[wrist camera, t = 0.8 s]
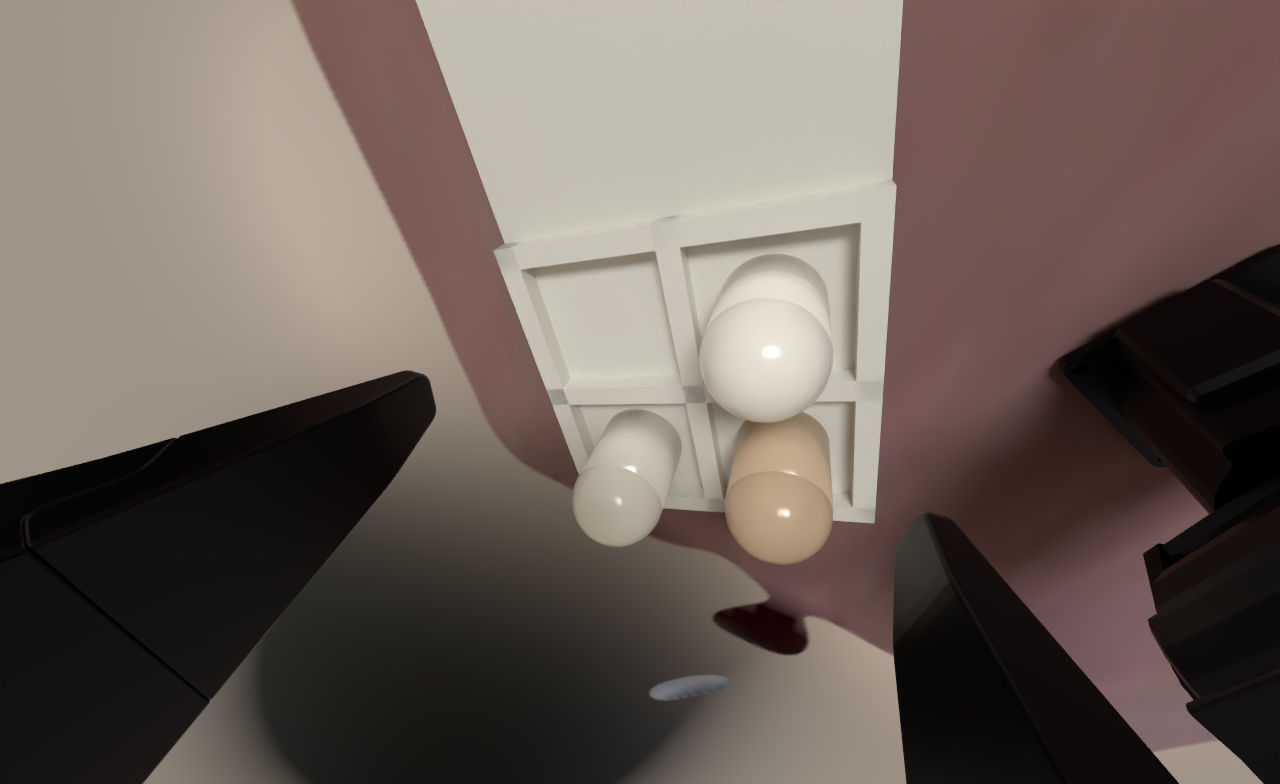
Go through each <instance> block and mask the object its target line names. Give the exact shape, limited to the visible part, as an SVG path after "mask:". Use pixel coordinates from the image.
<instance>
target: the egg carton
mask: <svg viewBox="0 0 1280 784" xmlns="http://www.w3.org/2000/svg"><path fill="white" fill-rule="evenodd" d="M416 2H417V5H418V8H419V11H420V13H421V16H422V19H423V21H424V24H425V27H426V30H427V32H428V35H429V38H430V41H431V43H432V46H433V49H434V52H435V54H436V57H437V60H438V62H439V65H440V68H441V71H442V73H443V76H444V79H445V82H446V84H447V87H448V90H449V92H450V95H451V98H452V101H453V103H454V106H455V109H456V112H457V114H458V117H459V120H460V122H461V125H462V128H463V131H464V133H465V136H466V139H467V142H468V144H469V147H470V150H471V153H472V155H473V158H474V161H475V163H476V166H477V169H478V172H479V174H480V177H481V180H482V183H483V185H484V188H485V191H486V193H487V196H488V199H489V202H490V204H491V207H492V210H493V213H494V215H495V218H496V221H497V223H498V226H499V229H500V232H501V234H502V237H503V240H504V243H505V244H504V245H502V246H500V247H498V248H497V249H495V250H493V251H494V254H495V256H496V259H497V262H498V264H499V267H500V269H501V272H502V275H503V277H504V280H505V282H506V285H507V288H508V290H509V293H510V296H511V298H512V301H513V303H514V306H515V309H516V311H517V314H518V317H519V319H520V322H521V324H522V327H523V330H524V332H525V335H526V337H527V340H528V343H529V345H530V348H531V351H532V353H533V356H534V358H535V361H536V364H537V366H538V369H539V371H540V374H541V377H542V379H543V382H544V385H545V387H546V390H547V392H548V395H549V398H550V400H551V403H552V405H553V408H554V411H555V413H556V416H557V419H558V421H559V424H560V426H561V429H562V432H563V434H564V437H565V439H566V442H567V445H568V447H569V450H570V453H571V455H572V458H573V460H574V463H575V466H576V468H577V471H578V474H580V473H581V471H582V469H583V467H584V465H585V464H586V462H587V460H588V458H589V457H590V455H591V453H592V451H593V449H594V448H595V446H596V444H597V442H598V441H599V439H600V437H601V435H602V433H603V432H604V430H605V428H606V426H607V424H608V423H609V421H610V419H611V418H612V417H613V416H614V415H616V414H617V413H619V412H621V411H624V410H628V409H643V410H647V411H651V412H654V413H656V414H658V415H660V416H662V417H663V418H665V419H666V420H667V421H669V422H670V423H671V424H672V425H673V426H674V427H675V429H676V430H677V432H678V433H679V435H680V438H681V441H682V453H681V456H680V459H679V462H678V465H677V468H676V471H675V474H674V477H673V480H672V483H671V486H670V489H669V492H668V495H667V498H666V501H665V504H664V507H663V508H668V509H682V510H695V511H709V512H723V513H725V498H726V493H727V488H728V483H729V477H730V472H731V467H732V462H733V457H734V451H735V446H736V441H737V436H738V432H739V429H740V427H741V425H742V424H743V423H744V421H745V420H744V419H741V418H739V417H737V416H734V415H733V414H731V413H729V412H728V411H726V410H725V409H724V408H722V407H721V406H720V405H719V404H718V403H717V402H716V401H715V400H714V399H713V398H712V396H711V395H710V393H709V392H708V390H707V389H706V386H705V384H704V382H703V379H702V376H701V372H700V366H699V352H700V346H701V342H702V339H703V336H704V333H705V330H706V328H707V325H708V323H709V320H710V318H711V315H712V313H713V310H714V307H715V305H716V302H717V300H718V297H719V295H720V292H721V289H722V287H723V285H724V283H725V281H726V280H727V278H728V276H729V275H730V274H731V273H732V272H733V271H734V270H735V269H736V268H737V267H738V266H739V265H741V264H742V263H744V262H746V261H748V260H750V259H752V258H754V257H757V256H761V255H765V254H785V255H790V256H794V257H797V258H799V259H801V260H803V261H805V262H806V263H808V264H809V265H811V266H812V267H813V268H814V269H815V270H816V271H817V272H818V273H819V274H820V276H821V277H822V279H823V281H824V283H825V285H826V288H827V291H828V297H829V309H830V321H831V333H832V345H833V366H832V371H831V374H830V377H829V380H828V383H827V385H826V387H825V389H824V390H823V392H822V393H821V395H820V396H819V397H818V398H817V400H816V401H815V402H814V403H813V404H812V405H811V406H809V407H808V408H807V409H805V410H804V411H803V412H804V413H806V414H808V415H810V416H812V417H813V418H815V419H816V420H817V421H818V422H819V423H820V424H821V425H822V426H823V427H824V429H825V430H826V432H827V434H828V437H829V442H830V460H831V479H832V497H833V520H834V521H848V522H862V523H874V521H875V506H876V491H877V476H878V460H879V445H880V430H881V415H882V399H883V384H884V369H885V353H886V338H887V323H888V308H889V292H890V277H891V262H892V247H893V231H894V216H895V201H896V185H895V183H894V182H893V180H892V173H893V157H894V140H895V123H896V107H897V90H898V74H899V57H900V41H901V24H902V8H903V0H416Z"/></svg>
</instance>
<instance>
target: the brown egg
mask: <svg viewBox="0 0 1280 784" xmlns="http://www.w3.org/2000/svg"><path fill="white" fill-rule="evenodd" d="M725 517H726V521H727V525H728V527H729V530H730V532H731V534H732V536H733V537H734V539H735V540H736V542H737V543H738V544H739V545H740V546H741V547H742V548H743V549H744V550H745V551H746V552H747V553H749V554H750V555H751V556H753V557H755V558H757V559H759V560H761V561H763V562H766V563H770V564H775V565H790V564H795V563H799V562H802V561H804V560H806V559H808V558H810V557H812V556H813V555H814V554H815V553H817V552H818V551H819V550H820V549H821V548H822V546H823V545H824V544H825V542H826V541H827V539H828V537H829V534H830V532H831V528H832V524H833V497H832V479H831V460H830V442H829V437H828V434H827V432H826V430H825V429H824V427H823V426H822V425H821V424H820V423H819V422H818V421H817V420H816V419H815V418H813V417H812V416H810V415H808V414H806V413H804V412H801V413H799V414H798V415H796V416H793V417H791V418H788V419H785V420H782V421H777V422H769V423H760V422H752V421H748V420H745V421H744V423H743V424H742V425H741V427H740V429H739V432H738V436H737V441H736V446H735V451H734V457H733V462H732V467H731V472H730V477H729V483H728V488H727V493H726V498H725Z"/></svg>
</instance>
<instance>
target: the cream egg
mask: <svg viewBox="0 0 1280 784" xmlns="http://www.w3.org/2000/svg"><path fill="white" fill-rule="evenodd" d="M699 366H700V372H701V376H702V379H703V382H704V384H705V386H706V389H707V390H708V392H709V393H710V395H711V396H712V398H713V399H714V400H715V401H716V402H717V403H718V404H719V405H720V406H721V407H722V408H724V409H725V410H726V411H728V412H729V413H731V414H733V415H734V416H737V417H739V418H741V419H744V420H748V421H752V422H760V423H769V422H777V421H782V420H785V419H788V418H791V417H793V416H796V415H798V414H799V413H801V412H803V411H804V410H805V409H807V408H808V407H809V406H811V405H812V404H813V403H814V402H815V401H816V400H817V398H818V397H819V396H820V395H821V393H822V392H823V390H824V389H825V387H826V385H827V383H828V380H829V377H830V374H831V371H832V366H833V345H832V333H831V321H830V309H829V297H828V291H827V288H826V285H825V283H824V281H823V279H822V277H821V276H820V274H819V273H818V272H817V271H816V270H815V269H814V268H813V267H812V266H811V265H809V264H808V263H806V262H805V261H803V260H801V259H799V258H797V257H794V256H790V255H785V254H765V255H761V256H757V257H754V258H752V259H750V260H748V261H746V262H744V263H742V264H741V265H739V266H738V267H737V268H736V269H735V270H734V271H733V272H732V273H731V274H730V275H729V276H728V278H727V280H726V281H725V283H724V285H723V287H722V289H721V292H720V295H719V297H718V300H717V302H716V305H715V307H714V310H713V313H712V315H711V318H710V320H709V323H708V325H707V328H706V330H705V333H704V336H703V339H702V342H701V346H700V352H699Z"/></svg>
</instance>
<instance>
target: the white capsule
mask: <svg viewBox="0 0 1280 784" xmlns="http://www.w3.org/2000/svg"><path fill="white" fill-rule="evenodd" d="M681 453H682V441H681V438H680V435H679V433H678V432H677V430H676V429H675V427H674V426H673V425H672V424H671V423H670V422H669V421H667V420H666V419H665V418H663V417H662V416H660V415H658V414H656V413H654V412H651V411H647V410H643V409H628V410H624V411H621V412H619V413H617V414H616V415H614V416H613V417H612V418H611V419H610V421H609V423H608V424H607V426H606V428H605V430H604V432H603V433H602V435H601V437H600V439H599V441H598V442H597V444H596V446H595V448H594V449H593V451H592V453H591V455H590V457H589V458H588V460H587V462H586V464H585V465H584V467H583V469H582V471H581V473H580V474H579V476H578V478H577V480H576V482H575V485H574V488H573V493H572V508H573V513H574V516H575V519H576V521H577V523H578V525H579V526H580V528H581V529H582V531H583V532H584V533H585V534H586V535H587V536H588V537H590V538H591V539H593V540H594V541H596V542H598V543H600V544H602V545H606V546H610V547H625V546H629V545H632V544H635V543H637V542H639V541H641V540H642V539H644V538H645V537H646V536H647V535H649V534H650V532H651V531H652V530H653V529H654V528H655V526H656V525H657V523H658V521H659V519H660V516H661V513H662V510H663V507H664V504H665V501H666V498H667V495H668V492H669V489H670V486H671V483H672V480H673V477H674V474H675V471H676V468H677V465H678V462H679V459H680V456H681Z"/></svg>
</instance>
